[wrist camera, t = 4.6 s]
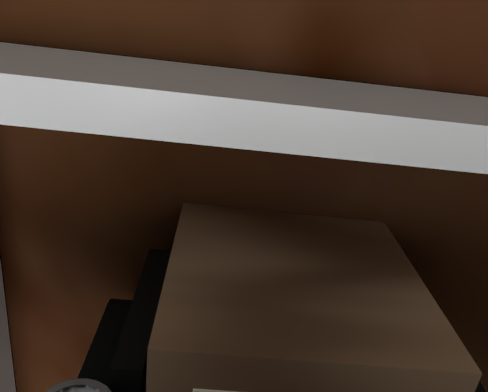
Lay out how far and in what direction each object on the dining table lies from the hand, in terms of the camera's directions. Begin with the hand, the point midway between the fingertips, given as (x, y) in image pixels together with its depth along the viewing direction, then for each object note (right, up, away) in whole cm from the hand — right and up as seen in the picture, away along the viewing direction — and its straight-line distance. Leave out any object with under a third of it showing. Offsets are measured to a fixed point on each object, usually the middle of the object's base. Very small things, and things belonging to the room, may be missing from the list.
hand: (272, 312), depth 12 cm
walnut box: (0, 0, +1) cm, 1 cm away
